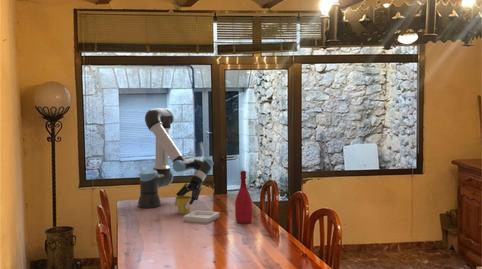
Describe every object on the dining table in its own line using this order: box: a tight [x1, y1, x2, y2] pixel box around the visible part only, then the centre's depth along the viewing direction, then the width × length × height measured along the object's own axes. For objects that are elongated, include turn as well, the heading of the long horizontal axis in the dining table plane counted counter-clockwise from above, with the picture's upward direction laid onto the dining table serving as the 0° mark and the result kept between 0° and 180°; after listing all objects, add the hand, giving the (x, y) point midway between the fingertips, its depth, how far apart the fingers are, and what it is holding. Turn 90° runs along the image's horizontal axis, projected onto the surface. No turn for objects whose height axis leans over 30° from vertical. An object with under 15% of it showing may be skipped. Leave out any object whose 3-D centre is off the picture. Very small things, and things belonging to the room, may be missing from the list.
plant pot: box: [174, 195, 192, 215], centre depth 325 cm, size 10×10×10 cm
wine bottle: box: [234, 170, 253, 224], centre depth 299 cm, size 10×10×30 cm
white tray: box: [183, 209, 220, 224], centre depth 307 cm, size 16×16×3 cm
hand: (180, 206), depth 323 cm, fingers closed on plant pot, 10 cm apart
